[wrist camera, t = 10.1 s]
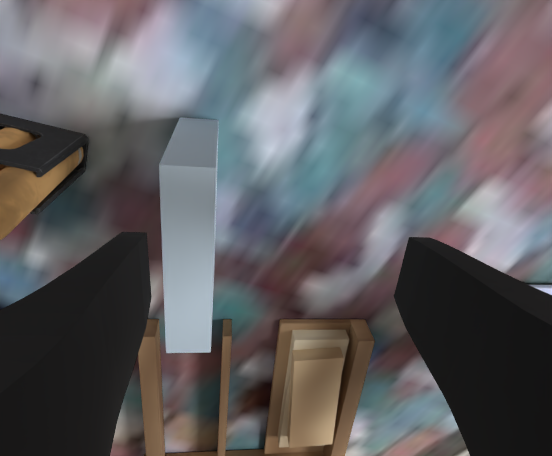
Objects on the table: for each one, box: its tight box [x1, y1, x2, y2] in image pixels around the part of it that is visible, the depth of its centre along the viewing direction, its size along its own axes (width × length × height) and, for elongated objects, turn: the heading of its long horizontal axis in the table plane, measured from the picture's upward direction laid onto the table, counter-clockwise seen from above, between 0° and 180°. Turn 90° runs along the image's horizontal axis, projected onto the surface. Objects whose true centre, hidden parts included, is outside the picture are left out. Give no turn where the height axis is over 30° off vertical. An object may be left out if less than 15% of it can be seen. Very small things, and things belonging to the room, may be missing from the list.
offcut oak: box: [287, 347, 344, 448], centre depth 27 cm, size 3×8×1 cm, turn 179°
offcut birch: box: [278, 330, 349, 447], centre depth 27 cm, size 3×10×1 cm, turn 175°
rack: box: [138, 319, 375, 456], centre depth 27 cm, size 14×14×2 cm
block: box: [159, 117, 219, 353], centre depth 18 cm, size 2×8×7 cm, turn 175°
